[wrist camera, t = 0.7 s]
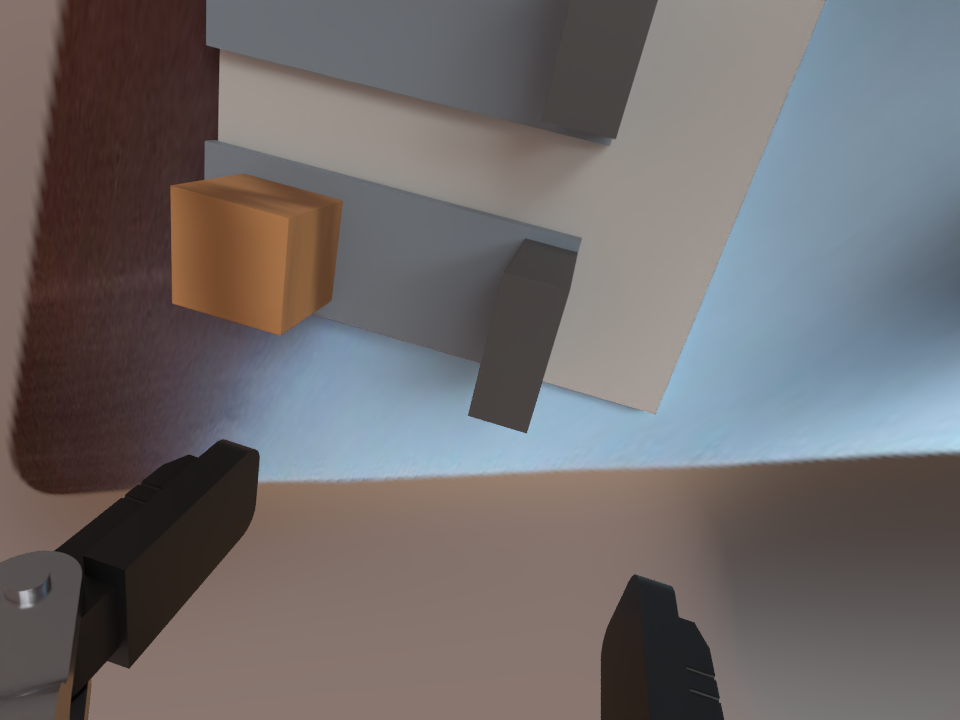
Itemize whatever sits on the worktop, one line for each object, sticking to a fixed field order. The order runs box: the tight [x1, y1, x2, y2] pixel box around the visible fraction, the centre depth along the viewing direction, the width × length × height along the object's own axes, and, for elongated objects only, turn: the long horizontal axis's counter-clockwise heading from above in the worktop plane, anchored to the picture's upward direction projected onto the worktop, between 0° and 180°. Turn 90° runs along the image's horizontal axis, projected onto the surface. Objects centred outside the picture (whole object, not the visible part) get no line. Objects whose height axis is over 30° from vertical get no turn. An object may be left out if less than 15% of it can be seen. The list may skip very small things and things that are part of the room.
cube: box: [171, 173, 343, 335], centre depth 26 cm, size 5×5×5 cm
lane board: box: [218, 0, 826, 414], centre depth 26 cm, size 24×19×1 cm
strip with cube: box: [205, 140, 582, 433], centre depth 25 cm, size 18×7×7 cm, turn 77°
